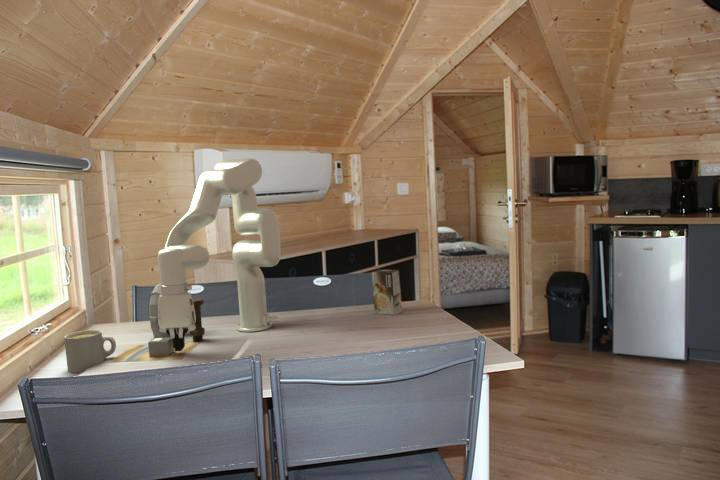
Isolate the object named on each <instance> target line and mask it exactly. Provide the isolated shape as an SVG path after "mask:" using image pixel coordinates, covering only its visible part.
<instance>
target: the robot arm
mask: <svg viewBox="0 0 720 480" xmlns="http://www.w3.org/2000/svg"><path fill="white" fill-rule="evenodd" d="M262 175H263V169H262V165H261V163H260V162H259V161H258V160H257V159H254V158H240V159H227V160H226V159H225V160H221V161H219V162H217V163H215V165H214V168H213V169H208V170H205V171H203V172H202V173H201V174H200V175H199V178H198V180H197V183H196V184H197V185H196V188H195V190H194V194H193V197H192V200H191V203H190V206H189V209H188V211H187V212H186V213H185V214H184V216H182V217H181V218H180V220H179V221H177V223H176V224H175V225H174V226H173V228H172V229H171V230H170V232H169V235H168V236H167V241H166V243H165V246H164V248H163V249H160V250H159V251H158V253H157V264H158V274H159V284H160V287H161V295H160V296H159V302H158V323H159V327H160V328H159V331H160V332H164V333H167V334H169V335H170V336H171V338H172V339H173V348H175V352H176V351H182V350H183V349H184V347H185V343H186V342H185V336H186V334H187V333H188V332H189V333H190V331H192V330H195V329H196V326H195V322H196V316H195V309H194V304H193V300H192V299H193V296H192V293H191V292H189V291H191V290H193V289H192V288H193V285H189V284H188V281H187V272H186V271H189V270H200V269H203V268H204V267H206V266H207V264H208V263H209V261H210V252H209V250H208V249H207V248H206V247H204V246H203V245H199V244H187V242H188V240H189V239H190V238H191V236H192V235H194V234H195V233H196V232H198V231H199V230H201V229H203V228H205V227H207V226H208V225H210V224H212V223H213V222H214V221H215V220H216V218H217V215H218V211H219V208H220V204H221V201H222V198H223V196H230V198H231V204H232V215H233V218H232V219H233V224H234V225H233V226H234V229H235V233H237V234H238V235H240V236H244V237H252V236H255V237H258V236H259V238H260V239H258V238H257V239H242V240H239V241H237V242H236V243H235V244H234V245H233V247H232V250H231V256H232V261H233V264H234V268H235V273H236V283H237V295H238V296H237V297H238V308H239V309H238V310H239V324H236V330H237V331H238V332H244V333H245V332H246V333H248V332H249V333H250V332H251V333H252V332H260V331H264V330H267V329H270V328H271V327H272V326H273V323H280V316H277V315H272V316H271V315H270V312H267V311H268V309H267V296H266V282H265V276H264V273H263V271H262V269H261V268H272V267H275V266H277V265H278V264H279V262H280V259H281V254H282V253H281V251H282V249H281V237H280V235H281V233H280V223H279V218H278V216H277V214H276V212H275V211H274V210H272V209H271V208H265V207H263V208H261V207H258V201H257V193H256V191H255V189H254V188H253V186H254V185H256V184H257V183H258V182H259V181H260V180H261V178H262ZM176 328H179V336H178V333H177V329H176Z"/></svg>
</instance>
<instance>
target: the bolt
mask: <svg viewBox="0 0 720 480" xmlns="http://www.w3.org/2000/svg"><path fill="white" fill-rule="evenodd" d="M192 300H193V304H194V309H195V316H196V322H195V326H196V329H195V330H192V331H189V335H190V336H191V337H192V343H194V342H203V340H204V335H205V333H206V329H205V328H204V327H203V326H202V325H203V324H202V312H201V309H202V307H201V306H202V305H203V304H204V298H199V297H198V298H197V297H196V298H192Z"/></svg>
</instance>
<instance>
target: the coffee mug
mask: <svg viewBox="0 0 720 480" xmlns="http://www.w3.org/2000/svg"><path fill="white" fill-rule="evenodd" d="M102 332H103V331H102V330H99V329H86V330H85V329H84V330H79V331H75V332H71V333H67V334H66V335H64V338H63V339H64V347H65V355H66V356H65V358H66V366H67V372H70V373H73V374H74V373H78V374H80V373H85V372H87V370H90V369H91V368H92V367H94V366H96V365H99V364H100V363H102V362H104V360H105V359H106V358H108V357H110V356H111V355H113V354H114V352H116V347H117V343H116V339H115V338H114V337H113V336H111V335H103V334H102ZM106 341H108V342H110V349H108V350H107V349H105V347H104V345H105V342H106Z"/></svg>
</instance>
